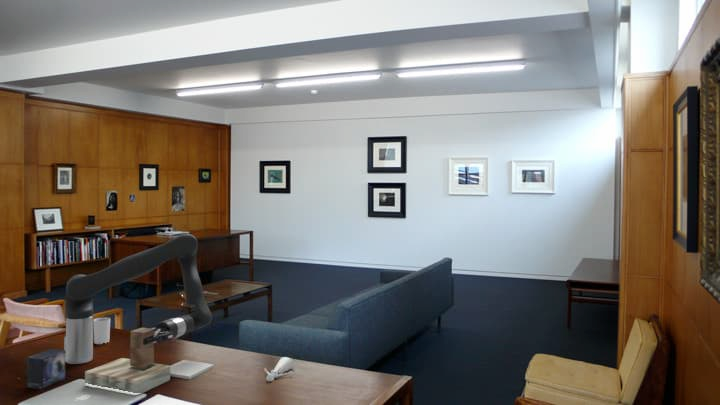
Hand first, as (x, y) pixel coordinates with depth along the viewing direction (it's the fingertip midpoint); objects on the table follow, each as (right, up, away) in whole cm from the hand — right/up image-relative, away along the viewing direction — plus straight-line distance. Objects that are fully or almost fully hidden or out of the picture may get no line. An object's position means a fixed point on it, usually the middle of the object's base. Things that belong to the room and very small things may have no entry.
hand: (137, 340), depth 180 cm
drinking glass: (-36, -13, +48) cm, 61 cm away
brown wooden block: (+1, -9, +2) cm, 9 cm away
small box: (-31, -15, -1) cm, 34 cm away
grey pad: (+12, -15, +14) cm, 24 cm away
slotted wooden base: (-3, -15, 0) cm, 15 cm away
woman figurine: (+47, -16, +12) cm, 51 cm away
